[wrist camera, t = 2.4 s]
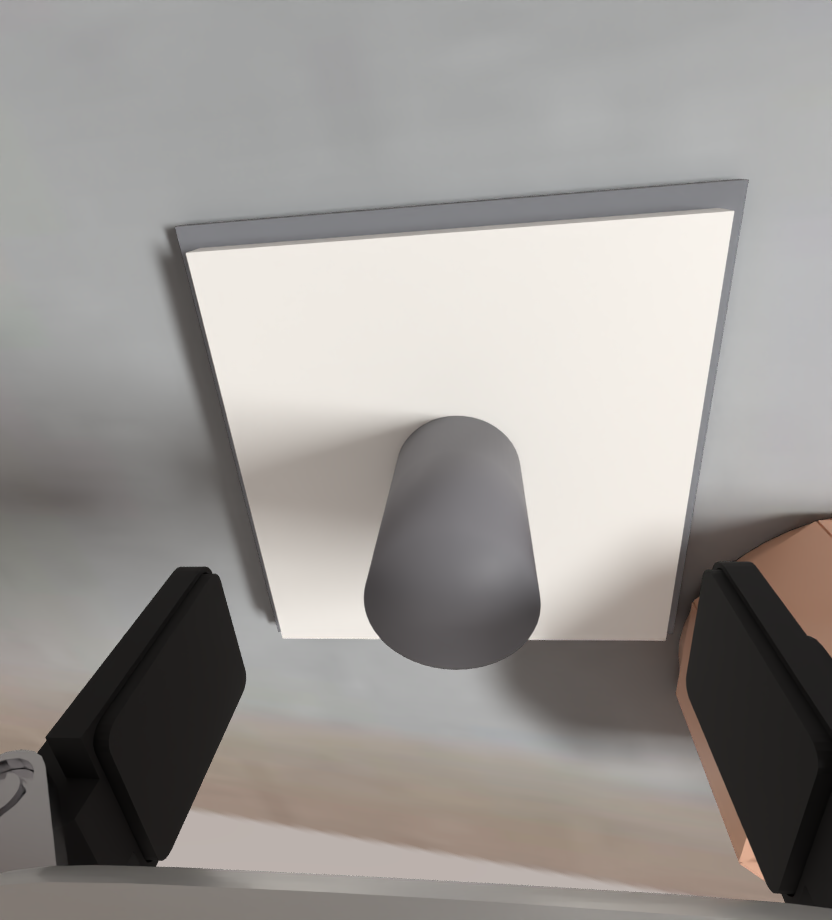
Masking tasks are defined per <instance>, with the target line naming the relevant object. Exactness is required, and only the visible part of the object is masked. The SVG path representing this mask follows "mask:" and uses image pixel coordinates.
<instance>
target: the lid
mask: <svg viewBox="0 0 832 920" xmlns="http://www.w3.org/2000/svg"><path fill="white" fill-rule="evenodd" d="M733 217H734V211H732V210H727V209H722V208H711V209H698V210H685V211H672V212H659V213H647V214H634V215H621V216H608V217H595V218H582V219H569V220H556V221H543V222H530V223H517V224H504V225H491V226H478V227H465V228H452V229H440V230H427V231H414V232H401V233H388V234H375V235H362V236H349V237H336V238H323V239H310V240H297V241H284V242H271V243H258V244H246V245H233V246H220V247H207V248H199V249H196V250H193V251H190V252H187V253H186V256H187V260H188V264H189V268H190V272H191V276H192V280H193V284H194V288H195V292H196V296H197V300H198V304H199V308H200V312H201V316H202V320H203V324H204V328H205V332H206V336H207V340H208V344H209V348H210V352H211V356H212V360H213V364H214V367H215V371H216V375H217V379H218V383H219V387H220V391H221V395H222V399H223V403H224V407H225V411H226V415H227V419H228V423H229V427H230V431H231V435H232V439H233V443H234V447H235V451H236V455H237V459H238V463H239V467H240V471H241V475H242V479H243V483H244V487H245V491H246V494H247V498H248V502H249V506H250V510H251V514H252V518H253V522H254V526H255V530H256V534H257V538H258V542H259V546H260V550H261V554H262V558H263V562H264V566H265V570H266V574H267V578H268V582H269V586H270V590H271V594H272V598H273V602H274V606H275V610H276V614H277V617H278V621H279V625H280V629H281V633H282V637H283V638H296V639H381V640H382V641H383V642H384V643H385V644H386V645H387V646H389V647H390V648H391V649H393V650H394V651H395V652H397V653H399V654H400V655H402V656H404V657H406V658H408V659H410V660H412V661H414V662H417V663H420V664H423V665H426V666H430V667H435V668H441V669H453V670H460V669H472V668H478V667H483V666H487V665H490V664H493V663H496V662H498V661H500V660H502V659H504V658H506V657H508V656H510V655H511V654H513V653H514V652H516V651H517V650H518V649H519V648H520V647H522V646H523V645H524V643H525V642H526V641H527V640H632V641H666V635H667V629H668V622H669V616H670V610H671V604H672V597H673V591H674V585H675V579H676V572H677V566H678V560H679V554H680V548H681V541H682V535H683V529H684V523H685V516H686V510H687V504H688V498H689V491H690V485H691V479H692V473H693V466H694V460H695V454H696V448H697V441H698V435H699V429H700V423H701V416H702V410H703V404H704V398H705V391H706V385H707V379H708V373H709V367H710V360H711V354H712V348H713V342H714V335H715V329H716V323H717V317H718V310H719V304H720V298H721V292H722V285H723V279H724V273H725V267H726V260H727V254H728V248H729V242H730V235H731V229H732V223H733Z"/></svg>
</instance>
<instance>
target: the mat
mask: <svg viewBox="0 0 832 920" xmlns="http://www.w3.org/2000/svg"><path fill="white" fill-rule="evenodd" d="M748 181H749V180H746V179H735V180H723V181H711V182H699V183H687V184H675V185H663V186H651V187H639V188H626V189H614V190H602V191H590V192H578V193H566V194H554V195H542V196H529V197H517V198H505V199H493V200H481V201H469V202H457V203H445V204H432V205H420V206H408V207H396V208H384V209H372V210H360V211H348V212H336V213H323V214H311V215H299V216H287V217H275V218H263V219H251V220H239V221H226V222H214V223H202V224H190V225H181V226H177V227H175V229H176V233H177V237H178V241H179V245H180V249H181V253H182V257H183V261H184V265H185V269H186V273H187V277H188V280H189V284H190V288H191V292H192V296H193V300H194V304H195V308H196V312H197V316H198V320H199V324H200V327H201V331H202V335H203V339H204V343H205V347H206V351H207V355H208V359H209V363H210V367H211V371H212V374H213V378H214V382H215V386H216V390H217V394H218V398H219V402H220V406H221V410H222V414H223V418H224V422H225V425H226V429H227V433H228V437H229V441H230V445H231V449H232V453H233V457H234V461H235V465H236V469H237V472H238V476H239V480H240V484H241V488H242V492H243V496H244V500H245V504H246V508H247V512H248V516H249V519H250V523H251V527H252V531H253V535H254V539H255V543H256V547H257V551H258V555H259V559H260V563H261V567H262V570H263V574H264V578H265V582H266V586H267V590H268V594H269V598H270V602H271V606H272V610H273V614H274V617H275V621H276V625H277V629H278V632H281V629H280V625H279V621H278V617H277V614H276V610H275V606H274V602H273V598H272V594H271V590H270V586H269V582H268V578H267V574H266V570H265V566H264V562H263V558H262V554H261V550H260V546H259V542H258V538H257V534H256V530H255V526H254V522H253V518H252V514H251V510H250V506H249V502H248V498H247V494H246V491H245V487H244V483H243V479H242V475H241V471H240V467H239V463H238V459H237V455H236V451H235V447H234V443H233V439H232V435H231V431H230V427H229V423H228V419H227V415H226V411H225V407H224V403H223V399H222V395H221V391H220V387H219V383H218V379H217V375H216V371H215V367H214V364H213V360H212V356H211V352H210V348H209V344H208V340H207V336H206V332H205V328H204V324H203V320H202V316H201V312H200V308H199V304H198V300H197V296H196V292H195V288H194V284H193V280H192V276H191V272H190V268H189V264H188V260H187V256H186V253H187V252H190V251H193V250H196V249H199V248H207V247H220V246H233V245H246V244H258V243H271V242H284V241H297V240H310V239H323V238H336V237H349V236H362V235H375V234H388V233H401V232H414V231H427V230H440V229H452V228H465V227H478V226H491V225H504V224H517V223H530V222H543V221H556V220H569V219H582V218H595V217H608V216H621V215H634V214H647V213H659V212H672V211H685V210H698V209H711V208H722V209H727V210H732V211H734V217H733V223H732V229H731V235H730V242H729V248H728V254H727V260H726V267H725V273H724V279H723V285H722V292H721V298H720V304H719V310H718V317H717V323H716V329H715V335H714V342H713V348H712V354H711V360H710V367H709V373H708V379H707V385H706V391H705V398H704V404H703V410H702V416H701V423H700V429H699V435H698V441H697V448H696V454H695V460H694V466H693V473H692V479H691V485H690V491H689V498H688V504H687V510H686V516H685V523H684V529H683V535H682V541H681V548H680V554H679V560H678V566H677V572H676V579H675V585H674V591H673V597H672V604H671V610H670V616H669V622H668V629H667V634H673V630H674V624H675V618H676V612H677V606H678V600H679V594H680V588H681V582H682V576H683V570H684V564H685V558H686V552H687V546H688V540H689V534H690V528H691V522H692V516H693V510H694V504H695V498H696V492H697V486H698V480H699V474H700V468H701V462H702V456H703V450H704V444H705V438H706V432H707V426H708V420H709V414H710V408H711V402H712V396H713V390H714V384H715V378H716V372H717V366H718V360H719V354H720V348H721V342H722V336H723V330H724V324H725V318H726V313H727V307H728V301H729V295H730V289H731V283H732V277H733V271H734V265H735V259H736V253H737V247H738V241H739V235H740V229H741V223H742V217H743V211H744V205H745V199H746V193H747V187H748Z"/></svg>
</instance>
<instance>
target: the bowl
mask: <svg viewBox="0 0 832 920" xmlns="http://www.w3.org/2000/svg"><path fill="white" fill-rule="evenodd" d="M743 561H749V562H752V563H754V564H755V565H756V567H757V568H758V569H759V571H760V572H761V573H762V575H763V576H764V577H765V579H766V580H767V582H768V583H769V584H770V586H771V587H772V588H773V590H774V591H775V592H776V594H777V595H778V596H779V598H780V599H781V601H782V602H783V603H784V605H785V606H786V607H787V609H788V610H789V611H790V613H791V614H792V615H793V617H794V618H795V620H796V621H797V622H798V624H799V625H800V626H801V628H802V629H803V630H804V632H805V633H806V634H807V636H811V637H813V638H815V639H817V640H818V642H819V643H820V644H821V645H822V646H823V647H824V648H825V650H826V651H827V652H828V653H829V655H830V656H831V657H832V518H830V519H826V520H818V522H816V521H815V522H813V523H811V524H808V525H805V526H803V527H800V528H797V529H794V530H791V531H789V532H786V533H784V534H782V535H780V536H778V537H776V538H774V539H771V540H769V541H767V542H765V543H764V544H762V545H760V546H758V547H757V548H755V549H753V550H752V551H750V552H748V553H747V554H745V555H744V556H742V557H741V558H740V559H738V560H737V561H736V562H743ZM698 602H699V597H698V598H697V599H695V600H694V602H692V606H691V611H690V613H689V615H688V617H687V619H686V621H685V624H684V626H683V629H682V633H681V637H680V641H679V652H678V657H679V667H680V672H679V678H678V683H677V689H676V696H677V699H678V702H679V704H680V707H681V710H682V712H683V715H684V718H685V720H686V723H687V725H688V728H689V731H690V733H691V736H692V739H693V741H694V744H695V747H696V749H697V752H698V755H699V757H700V760H701V763H702V765H703V768H704V771H705V773H706V776H707V779H708V781H709V784H710V787H711V789H712V792H713V795H714V797H715V800H716V802H717V805H718V808H719V810H720V813H721V816H722V818H723V821H724V824H725V826H726V829H727V832H728V834H729V837H730V840H731V842H732V845H733V848H734V850H735V853H736V856H737V858H738V861H739V863H740V864H741V865H742V866H744V867H745V868H747V869H748V870H750V871H751V872H752V873H754V874H755V875H757V876H758V877H760V878H761V879H762V880H764V877H763V875H762V872H761V870H760V868H759V865H758V863H757V860H756V858H755V856H754V853H753V851H752V849H751V846H750V844H749V841H748V839H747V837H746V834H745V832H744V829H743V827H742V825H741V822H740V820H739V817H738V815H737V813H736V810H735V808H734V805H733V803H732V801H731V798H730V796H729V793H728V791H727V789H726V786H725V784H724V781H723V779H722V777H721V774H720V772H719V769H718V767H717V765H716V762H715V760H714V757H713V755H712V753H711V750H710V748H709V745H708V743H707V741H706V738H705V736H704V733H703V731H702V729H701V726H700V724H699V721H698V719H697V717H696V714H695V712H694V709H693V707H692V705H691V702H690V700H689V697H688V694H687V689H686V674H687V668H688V662H689V656H690V650H691V644H692V638H693V632H694V626H695V620H696V614H697V608H698ZM764 881H765V880H764Z"/></svg>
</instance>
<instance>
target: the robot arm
mask: <svg viewBox="0 0 832 920" xmlns="http://www.w3.org/2000/svg"><path fill="white" fill-rule="evenodd" d="M245 684H246V671H245V667H244V664H243V660H242V657H241V653H240V649H239V646H238V642H237V638H236V635H235V631H234V627H233V624H232V620H231V617H230V613H229V609H228V606H227V602H226V598H225V595H224V591H223V587H222V584H221V580H220V578H219V576H218V575H217V574H212V572H211V570H210V569H209V568H208V567H179V568H177V569H176V570H175V571H174V572H173V573H172V574H171V576H170V577H169V578H168V580H167V581H166V582H165V583H164V585H163V586H162V587H161V589H160V590H159V591H158V593H157V594H156V595H155V596H154V598H153V599H152V600H151V602H150V603H149V604H148V605H147V607H146V608H145V609H144V611H143V612H142V613H141V614H140V616H139V617H138V618H137V620H136V621H135V622H134V624H133V625H132V626H131V627H130V629H129V630H128V631H127V633H126V634H125V635H124V636H123V638H122V639H121V640H120V642H119V643H118V644H117V645H116V647H115V648H114V649H113V651H112V652H111V653H110V655H109V656H108V657H107V658H106V660H105V661H104V662H103V664H102V665H101V666H100V667H99V669H98V670H97V671H96V673H95V674H94V675H93V677H92V678H91V679H90V680H89V682H88V683H87V684H86V686H85V687H84V688H83V689H82V691H81V692H80V693H79V695H78V696H77V697H76V698H75V700H74V701H73V702H72V704H71V705H70V706H69V708H68V709H67V710H66V711H65V713H64V714H63V715H62V717H61V718H60V719H59V720H58V722H57V723H56V724H55V726H54V727H53V728H52V729H51V731H50V732H49V733H48V735H47V736H46V737H45V738H46V740H47V741H46V742H45V743H44V745H43V746H42V747H41V749H40V750H39V751H38V753H36V752H34V751H29V750H16V751H10V752H6V753H3V754H0V920H832V657H831V656H830V655H829V653H828V652H827V651H826V650H825V648H824V647H823V646H822V645H821V644H820V643H819V642H818V640H817V639H815V638H813V637H811V636H807V634H806V633H805V632H804V630H803V629H802V628H801V626H800V625H799V624H798V622H797V621H796V620H795V618H794V617H793V615H792V614H791V613H790V611H789V610H788V609H787V607H786V606H785V605H784V603H783V602H782V601H781V599H780V598H779V596H778V595H777V594H776V592H775V591H774V590H773V588H772V587H771V586H770V584H769V583H768V582H767V580H766V579H765V577H764V576H763V575H762V573H761V572H760V571H759V569H758V568H757V567H756V565H755V564H754V563H752V562H749V561H743V562H717V563H715V565H714V567H713V570H706V571H705V572H704V574H703V578H702V584H701V590H700V596H699V602H698V608H697V614H696V620H695V626H694V632H693V638H692V644H691V650H690V656H689V662H688V668H687V674H686V689H687V694H688V697H689V700H690V702H691V705H692V707H693V709H694V712H695V714H696V717H697V719H698V721H699V724H700V726H701V729H702V731H703V733H704V736H705V738H706V741H707V743H708V745H709V748H710V750H711V753H712V755H713V757H714V760H715V762H716V765H717V767H718V769H719V772H720V774H721V777H722V779H723V781H724V784H725V786H726V789H727V791H728V793H729V796H730V798H731V801H732V803H733V805H734V808H735V810H736V813H737V815H738V817H739V820H740V822H741V825H742V827H743V829H744V832H745V834H746V837H747V839H748V841H749V844H750V846H751V849H752V851H753V853H754V856H755V858H756V860H757V863H758V865H759V868H760V870H761V872H762V875H763V877H764V880H765V882H766V884H767V886H768V887H769V889H770V890H771V891H772V892H773V893H779V894H782V896H783V899H784V901H785V903H780V902H767V901H754V900H741V899H729V898H716V897H703V896H690V895H677V894H661V893H644V892H628V891H610V890H594V889H578V888H577V889H576V888H560V887H544V886H528V885H527V886H526V885H511V884H493V883H492V884H491V883H475V882H456V881H438V880H437V881H436V880H419V879H402V878H382V877H364V876H345V875H327V874H305V873H284V872H264V871H244V870H223V869H202V868H179V867H156V865H157V863H158V861H162V860H164V859H166V857H167V856H168V855H169V853H170V851H171V850H172V848H173V845H174V843H175V841H176V839H177V836H178V834H179V832H180V830H181V828H182V825H183V823H184V821H185V819H186V817H187V814H188V812H189V810H190V808H191V806H192V803H193V801H194V799H195V797H196V795H197V792H198V790H199V788H200V786H201V784H202V781H203V779H204V777H205V775H206V773H207V770H208V768H209V766H210V764H211V762H212V759H213V757H214V755H215V753H216V751H217V748H218V746H219V744H220V742H221V740H222V737H223V735H224V733H225V731H226V729H227V726H228V724H229V722H230V720H231V718H232V715H233V713H234V711H235V709H236V707H237V704H238V702H239V700H240V698H241V696H242V693H243V691H244V688H245Z"/></svg>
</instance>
